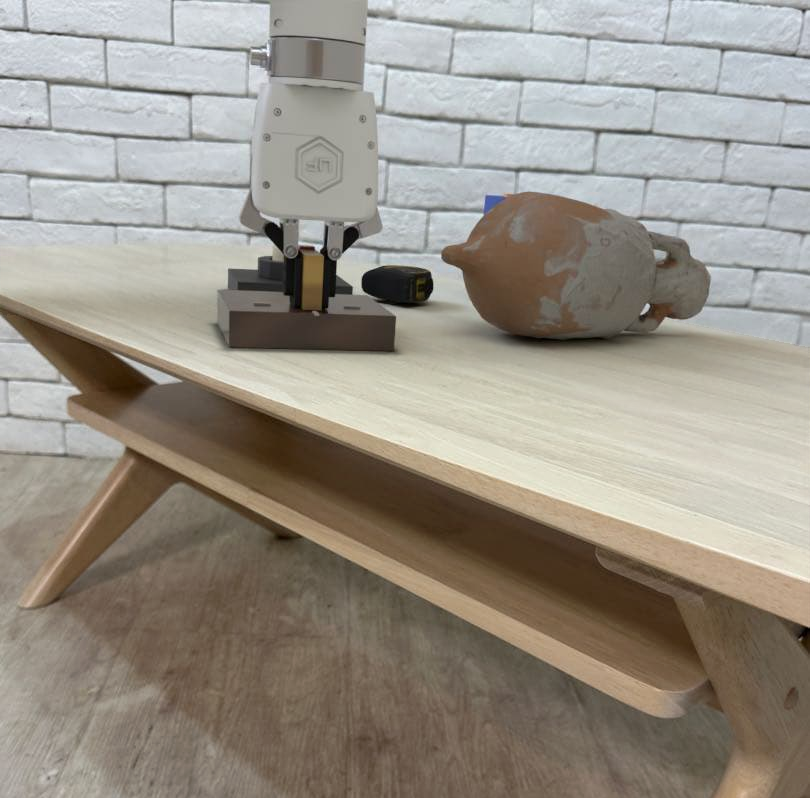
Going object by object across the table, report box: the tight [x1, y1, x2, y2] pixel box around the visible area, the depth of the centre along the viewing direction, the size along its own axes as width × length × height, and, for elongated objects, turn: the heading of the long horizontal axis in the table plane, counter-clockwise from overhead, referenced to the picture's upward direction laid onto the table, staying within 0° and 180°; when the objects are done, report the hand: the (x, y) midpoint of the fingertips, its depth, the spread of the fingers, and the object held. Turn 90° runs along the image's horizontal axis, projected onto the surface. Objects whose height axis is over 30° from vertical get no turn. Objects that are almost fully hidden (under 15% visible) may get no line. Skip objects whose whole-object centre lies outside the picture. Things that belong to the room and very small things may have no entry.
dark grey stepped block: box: [227, 255, 354, 295], centre depth 107 cm, size 12×10×4 cm
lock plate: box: [216, 289, 397, 352], centre depth 87 cm, size 14×12×3 cm
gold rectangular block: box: [298, 244, 324, 311], centre depth 84 cm, size 5×2×5 cm, turn 14°
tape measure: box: [360, 264, 434, 305], centre depth 110 cm, size 7×7×4 cm
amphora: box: [440, 191, 712, 341], centre depth 96 cm, size 14×16×30 cm
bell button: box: [271, 244, 284, 262], centre depth 106 cm, size 4×4×2 cm
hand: (308, 304), depth 85 cm, fingers closed, pressing on gold rectangular block
